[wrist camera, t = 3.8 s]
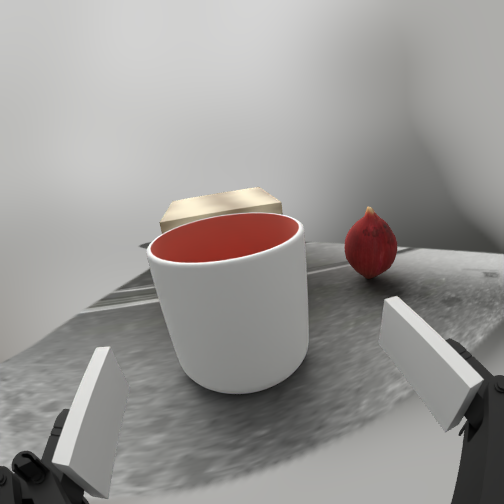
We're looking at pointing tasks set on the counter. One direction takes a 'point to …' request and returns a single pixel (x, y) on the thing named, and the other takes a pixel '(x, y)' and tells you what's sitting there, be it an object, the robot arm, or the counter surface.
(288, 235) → the cup
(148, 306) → the counter surface
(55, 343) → the counter surface
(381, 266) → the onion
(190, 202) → the block top
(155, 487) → the counter surface
